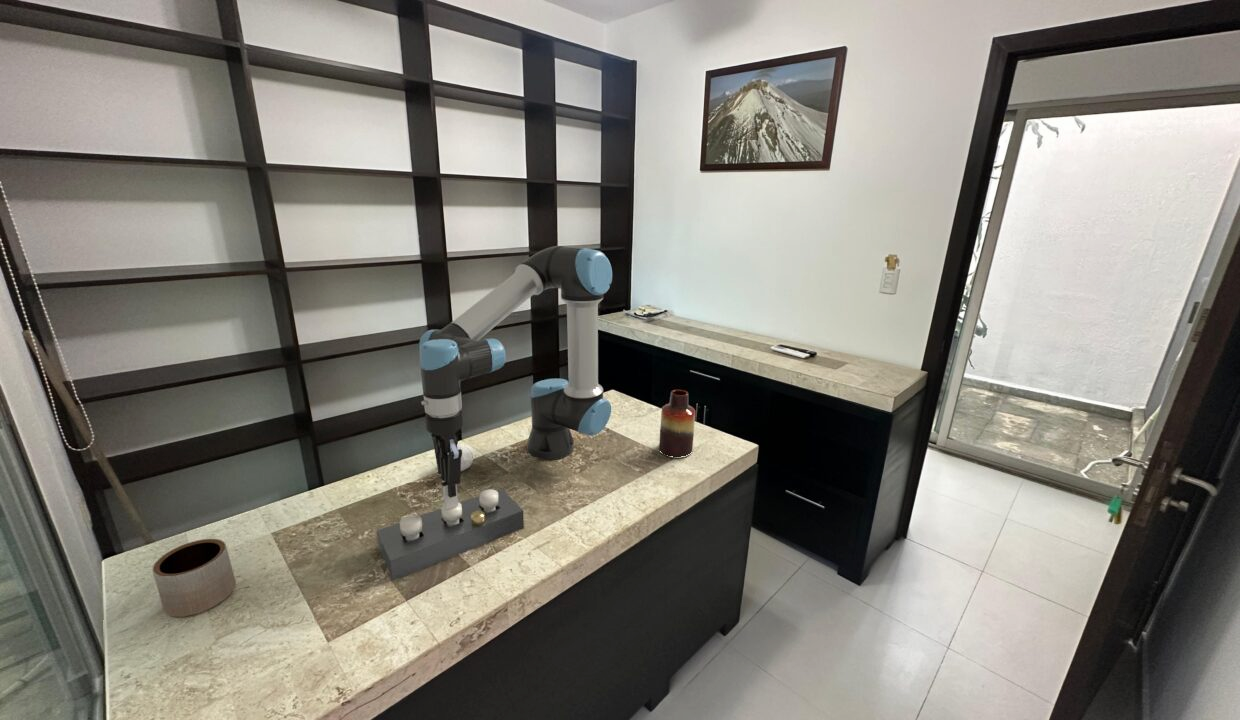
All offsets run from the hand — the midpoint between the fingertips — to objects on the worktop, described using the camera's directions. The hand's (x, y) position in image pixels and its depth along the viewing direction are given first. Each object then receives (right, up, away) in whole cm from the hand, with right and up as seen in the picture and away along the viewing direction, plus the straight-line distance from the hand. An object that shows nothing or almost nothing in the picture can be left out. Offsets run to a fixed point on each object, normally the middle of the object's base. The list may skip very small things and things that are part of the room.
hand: (451, 506), depth 112 cm
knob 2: (+7, -6, +8) cm, 12 cm away
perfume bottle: (-9, 0, +31) cm, 32 cm away
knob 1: (-7, -9, -3) cm, 12 cm away
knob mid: (0, -8, +2) cm, 8 cm away
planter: (-43, -13, -16) cm, 48 cm away
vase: (+57, +4, +48) cm, 75 cm away
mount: (0, -8, +3) cm, 9 cm away
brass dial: (+6, -4, +1) cm, 7 cm away
